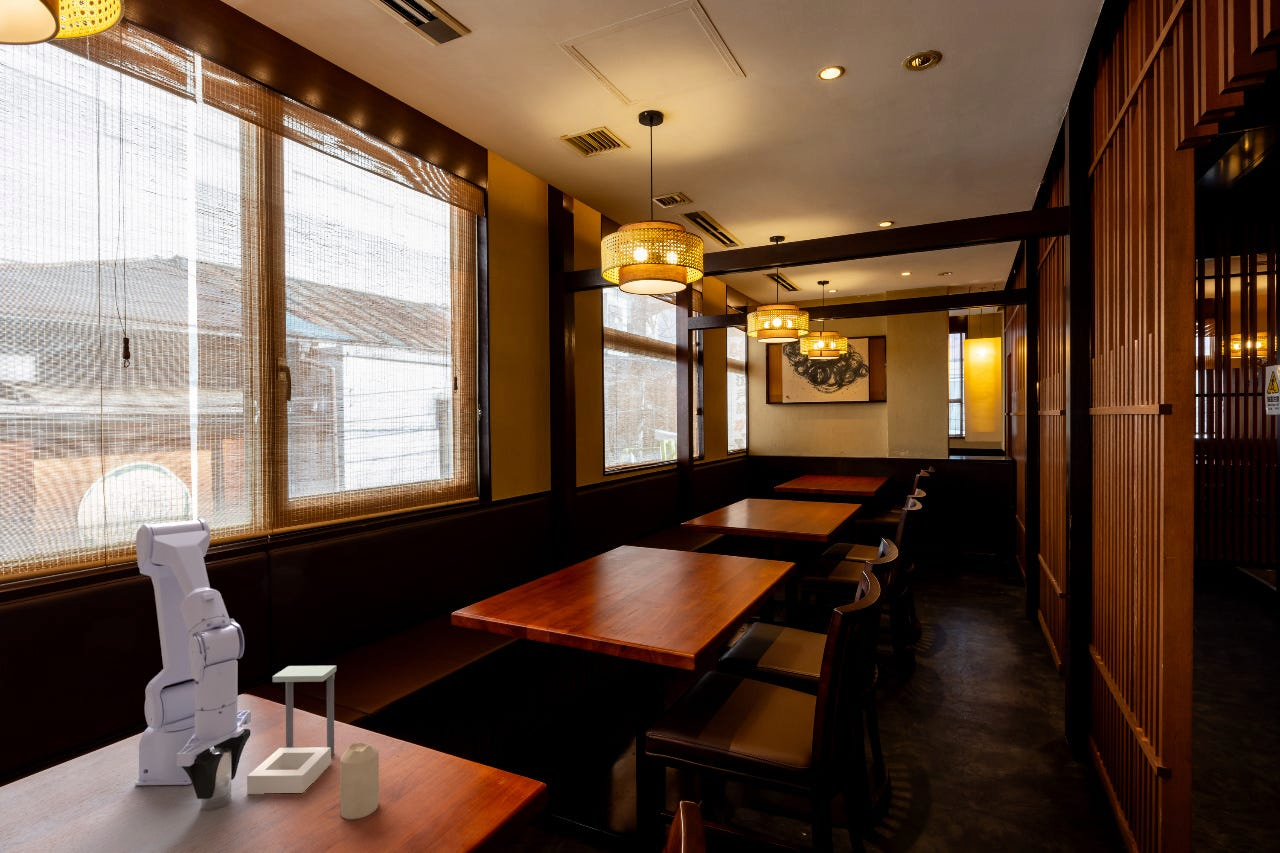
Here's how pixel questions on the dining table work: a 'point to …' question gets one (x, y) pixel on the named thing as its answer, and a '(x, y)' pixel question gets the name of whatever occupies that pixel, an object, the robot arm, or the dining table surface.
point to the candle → (359, 781)
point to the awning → (308, 675)
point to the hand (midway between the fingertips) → (216, 788)
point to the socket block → (281, 779)
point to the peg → (220, 782)
